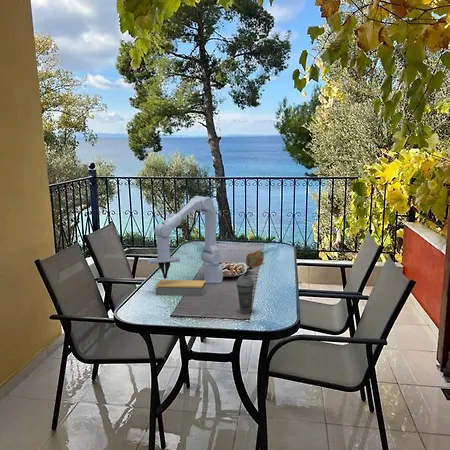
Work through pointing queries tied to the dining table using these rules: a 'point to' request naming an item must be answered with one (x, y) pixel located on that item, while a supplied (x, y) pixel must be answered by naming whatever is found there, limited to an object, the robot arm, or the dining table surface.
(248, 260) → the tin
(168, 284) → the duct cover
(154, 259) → the robot arm
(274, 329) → the dining table surface
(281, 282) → the dining table surface
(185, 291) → the cable duct
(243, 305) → the beverage cup
